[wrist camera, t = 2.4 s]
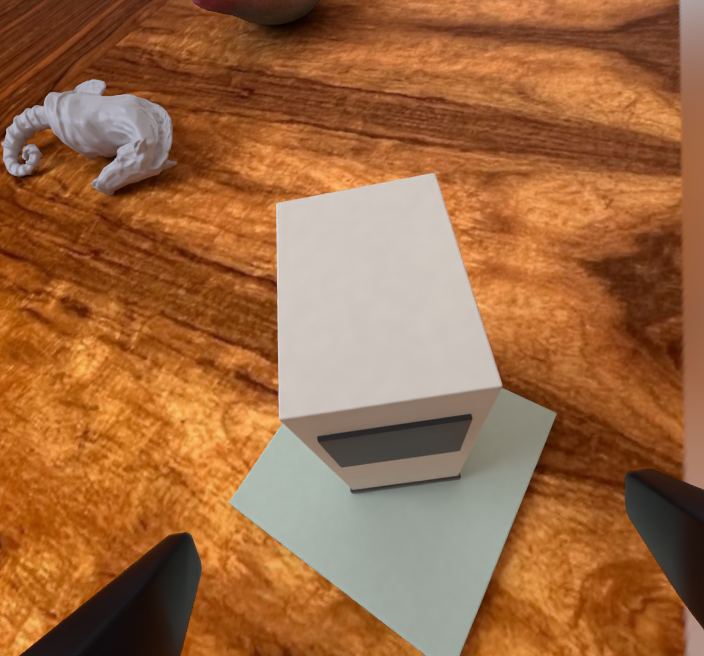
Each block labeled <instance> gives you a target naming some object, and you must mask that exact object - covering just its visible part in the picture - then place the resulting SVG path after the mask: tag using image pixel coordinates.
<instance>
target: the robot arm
mask: <svg viewBox="0 0 704 656" xmlns="http://www.w3.org/2000/svg"><path fill="white" fill-rule="evenodd" d="M625 507H626V511H627V514H628V516H629V518H630V520H631V522H632V523H633V525H634V527H635V528H636V530H637V531H638V533H639V534H640V536H641V538H642V539H643V541H644V542H645V544H646V545H647V547H648V549H649V550H650V552H651V553H652V555H653V556H654V558H655V560H656V561H657V563H658V564H659V566H660V567H661V569H662V571H663V572H664V574H665V575H666V577H667V579H668V580H669V582H670V583H671V585H672V586H673V588H674V589H675V591H676V592H677V594H678V595H679V597H680V598H681V600H682V601H683V602H684V604H685V605H686V606H687V608H688V609H689V611H690V612H691V613H692V615H693V616H694V617H695V619H696V620H697V621H698V622H699V624H700V625H701V626H702V628H703V629H704V490H703V489H701V488H698V487H696V486H693V485H690V484H688V483H686V482H683V481H681V480H678V479H676V478H673V477H671V476H668V475H665V474H663V473H660V472H658V471H655V470H653V469H649V468H646V469H638V470H631V471H629V472H627V473H626V476H625ZM201 570H202V567H201V561H200V558H199V555H198V552H197V549H196V546H195V543H194V541H193V538H192V536H191V534H190V533H187V532H184V533H176V534H171V535H169V536H167V537H166V538H165V539H163V540H162V541H161V542H160V543H158V544H157V545H156V546H155V547H153V548H152V549H151V550H150V551H148V552H147V553H146V554H145V555H143V556H142V557H141V558H140V559H139V560H137V561H136V562H135V563H134V564H132V565H131V566H130V567H129V568H127V569H126V570H125V571H124V572H122V573H121V574H120V575H119V576H117V577H116V578H115V579H114V580H113V581H111V582H110V583H109V584H108V585H106V586H105V587H104V588H103V589H101V590H100V591H99V592H98V593H96V594H95V595H94V596H93V597H91V598H90V599H89V600H88V601H87V602H85V603H84V604H83V605H82V606H80V607H79V608H78V609H77V610H75V611H74V612H73V613H72V614H70V615H69V616H68V617H67V618H65V619H64V620H63V621H62V622H61V623H59V624H58V625H57V626H56V627H54V628H53V629H52V630H51V631H49V632H48V633H47V634H46V635H44V636H43V637H42V638H41V639H39V640H38V641H37V642H36V643H35V644H33V645H32V646H31V647H30V648H28V649H27V650H26V651H25V652H23V653H22V654H21V655H20V656H180V655H181V651H182V648H183V644H184V640H185V636H186V632H187V628H188V624H189V620H190V617H191V613H192V609H193V605H194V601H195V597H196V593H197V589H198V585H199V581H200V577H201Z"/></svg>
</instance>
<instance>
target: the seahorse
mask: <svg viewBox="0 0 704 656" xmlns="http://www.w3.org/2000/svg"><path fill="white" fill-rule="evenodd" d="M105 88H106V85H105V82H103V81H100V80H90V81H86V82H84V83H82V84H80V85H78V86H77V87H76V88H75V90H74V91H68V92H63V93H56V92H51V93H49V94H48V95H47V97H46V98H45V101H44V106H38V105H36V106H34V107H33V108H32V109H29V108H28V109H25V111H24V113H22V114H21V115H20V116H16V117H15V118H14V123H13V124H12V125H11V126H10V127H8V128H7V129H6V131H7V134H6V138H5V142H2V146H3V147H4V153H3V156H4V157H3V160H4V162H5V165H6V168H7V170H8V171H9V173H10V174H12V175H14V176H19V177H23V176H24V175H31V174H32V171H33V170H34V169H35V168H38V167H39V166H38V163H39V160H40V159H41V158H42V157H43V155H42V153H41V152H40V151H39V149H38V148H37V147H36V145H34V144H30V145H28V146H27V147H25V148H24V149H23V153H22V148H23V146H26V145H27V141H26V140H27V139H28V138H32V137H34V134H35V132H36V131H39V132H40V131H44V130H46V129H51V128H52V130H53V132H54V134H55V135H56V136H57V137H59V138H60V140H61V141H62V142H63V143H65V144H66V145H68V146H69V147H70V148H72V149H74V150H75V151H76V152H78V153H81V154H82V155H83V156H85V157H87V158H89V159H95V158H97V157H98V156H101V155H103V156H105V157H113V156H117V155H118V156H117V157H116V158H115V159H114V161H112V162H111V163H110V164H109V165H107V166H106V167H104V168H103V170H102V172H101V174H100V175H99V177H98V178H97V179H95V180H93V181H92V185H93V187H94V188H95V189H96V190H97V191H99V192H102V193H105V194H108V195H112V194H114V192H115V190H117V189H120V188H122V187H124V186H126V185H128V184H130V183H135V182H139V181H140V180H142V179H146V178H148V177H151V176H154V175H158V174H160V172H161V171H162V170H166V169H167V168H170V167H172V166H174V165H175V164H176V163H177V162H176V161H170V160H168V156H169V153H168V152H169V151H170V150H171V145H172V135H173V133H172V129H173V126H172V123H171V122H172V119H171V118H170V116H169V115H168V113H167V112H166V110H165V109H164V108H161V106H160V105H157V104H153V103H152V102H149V101H148V100H147V99H142V98H139V97H137V96H134V95H129V94H124V95H115V96H102V94H103V92H104V90H105ZM19 155H22V157H23V159H24V160H26V164H22V165H21V164H20V163H19V162H20V158H19ZM29 155H30V157H29V160H28V156H29Z"/></svg>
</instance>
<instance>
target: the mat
mask: <svg viewBox="0 0 704 656" xmlns="http://www.w3.org/2000/svg"><path fill="white" fill-rule="evenodd" d="M556 415H557V414H556V413H555V412H553V411H551V410H549V409H546V408H544V407H542V406H540V405H538V404H536V403H533V402H531V401H529V400H527V399H525V398H523V397H521V396H518V395H516V394H514V393H512V392H510V391H508V390H505V389H503V388H501V390H500V392H499V394H498V396H497V398H496V400H495V402H494V404H493V406H492V408H491V410H490V412H489V414H488V416H487V418H486V420H485V422H484V424H483V427H482V429H481V431H480V433H479V435H478V437H477V439H476V441H475V443H474V445H473V447H472V449H471V451H470V453H469V455H468V457H467V459H466V461H465V463H464V465H463V467H462V469H461V471H460V475H461V478H460V479H459V480H452V481H445V482H438V483H430V484H423V485H415V486H408V487H401V488H393V489H386V490H379V491H371V492H364V493H356V494H352V493H351V492H350V487H349V486H348V485H347V484H346V483H345V482H344V481H343V480H342V479H341V478H340V477H339V476H338V475H337V474H336V473H334V472H333V471H332V470H331V469H330V468H329V467H328V466H327V465H326V464H325V463H324V462H323V461H322V460H321V459H320V458H319V457H318V456H317V455H316V454H315V453H314V452H312V451H311V450H310V449H309V448H308V447H307V446H306V445H305V444H304V443H303V442H302V441H301V440H300V439H299V438H298V437H297V436H296V435H295V434H294V433H293V432H292V431H290V430H289V429H288V428H287V427H286V426H285V425H284V424H282V425H281V426H280V428H279V429H278V431H277V432H276V434H275V435H274V437H273V438H272V440H271V441H270V443H269V444H268V446H267V447H266V449H265V450H264V452H263V453H262V454H261V456H260V457H259V459H258V460H257V462H256V463H255V465H254V466H253V468H252V469H251V471H250V472H249V474H248V475H247V477H246V478H245V479H244V481H243V482H242V484H241V485H240V487H239V488H238V490H237V491H236V493H235V494H234V496H233V497H232V499H231V500H230V502H229V504H230V505H232V506H233V507H234V508H236V509H237V510H238V511H239V512H241V513H242V514H243V515H245V516H246V517H247V518H248V519H250V520H251V521H252V522H254V523H255V524H256V525H258V526H259V527H260V528H261V529H263V530H264V531H265V532H267V533H268V534H269V535H270V536H272V537H273V538H274V539H276V540H277V541H278V542H280V543H281V544H282V545H283V546H285V547H286V548H287V549H289V550H290V551H291V552H292V553H294V554H295V555H296V556H298V557H299V558H300V559H302V560H303V561H304V562H305V563H307V564H308V565H309V566H311V567H312V568H313V569H314V570H316V571H317V572H318V573H320V574H321V575H322V576H324V577H325V578H326V579H327V580H329V581H330V582H331V583H333V584H334V585H335V586H336V587H338V588H339V589H340V590H342V591H343V592H344V593H345V594H347V595H348V596H349V597H351V598H352V599H353V600H355V601H356V602H357V603H358V604H360V605H361V606H362V607H364V608H365V609H366V610H367V611H369V612H370V613H371V614H373V615H374V616H375V617H377V618H378V619H379V620H380V621H382V622H383V623H384V624H386V625H387V626H388V627H389V628H391V629H392V630H393V631H395V632H396V633H397V634H399V635H400V636H401V637H402V638H404V639H405V640H406V641H408V642H409V643H410V644H411V645H413V646H414V647H415V648H417V649H418V650H419V651H421V652H422V653H423V654H424V655H426V656H460V654H461V652H462V649H463V647H464V644H465V642H466V639H467V637H468V634H469V632H470V629H471V627H472V624H473V622H474V619H475V617H476V614H477V612H478V609H479V607H480V604H481V602H482V599H483V597H484V594H485V592H486V589H487V587H488V584H489V582H490V579H491V577H492V574H493V572H494V569H495V567H496V564H497V562H498V559H499V557H500V554H501V552H502V549H503V547H504V544H505V542H506V539H507V537H508V534H509V532H510V529H511V527H512V524H513V522H514V519H515V517H516V515H517V512H518V510H519V507H520V505H521V502H522V500H523V497H524V495H525V492H526V490H527V487H528V485H529V482H530V480H531V477H532V475H533V472H534V470H535V467H536V465H537V462H538V460H539V457H540V455H541V452H542V450H543V447H544V445H545V442H546V440H547V437H548V435H549V432H550V430H551V427H552V425H553V422H554V420H555V417H556Z"/></svg>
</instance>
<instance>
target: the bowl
mask: <svg viewBox="0 0 704 656" xmlns="http://www.w3.org/2000/svg"><path fill="white" fill-rule="evenodd" d="M192 1H193V2H194V4H195V5H197V6H199V7H201V8H203V9H205V10H208V11H213V12H218V13H222V14H227V15H233V16H236V17H238V18H240V19H243V20H245V21H248V22H250V23H255V24H259V25H279V24H284V23H289V22H292V21H294V20H297V19H299V18H301V17H303V16H305V15H306V14H308V13H309V12H310V11H311V10H312V9H313V8H314V7H315V6H316V4H317V3H318V2H319V0H192Z"/></svg>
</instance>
